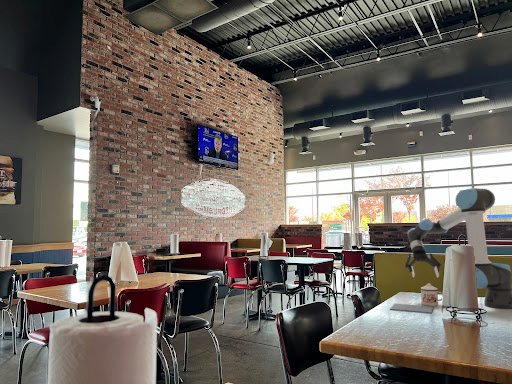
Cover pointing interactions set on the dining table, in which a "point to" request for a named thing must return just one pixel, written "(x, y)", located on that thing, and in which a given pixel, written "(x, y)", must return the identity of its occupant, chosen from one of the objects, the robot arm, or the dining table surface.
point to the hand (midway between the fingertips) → (425, 276)
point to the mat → (412, 308)
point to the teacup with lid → (429, 295)
